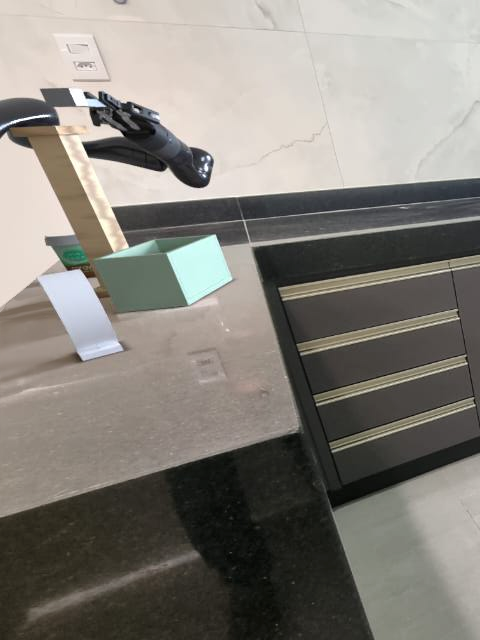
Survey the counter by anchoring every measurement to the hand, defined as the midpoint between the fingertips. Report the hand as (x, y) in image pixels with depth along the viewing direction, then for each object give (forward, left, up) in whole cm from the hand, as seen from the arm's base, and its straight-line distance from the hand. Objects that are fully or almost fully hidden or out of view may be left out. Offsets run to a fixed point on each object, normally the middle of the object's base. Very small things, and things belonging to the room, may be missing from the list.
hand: (93, 95), depth 111 cm
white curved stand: (-12, -60, -38) cm, 72 cm away
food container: (-13, +10, -38) cm, 42 cm away
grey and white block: (-2, -3, -2) cm, 4 cm away
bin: (0, -30, -38) cm, 48 cm away
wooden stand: (-8, -15, -38) cm, 41 cm away
